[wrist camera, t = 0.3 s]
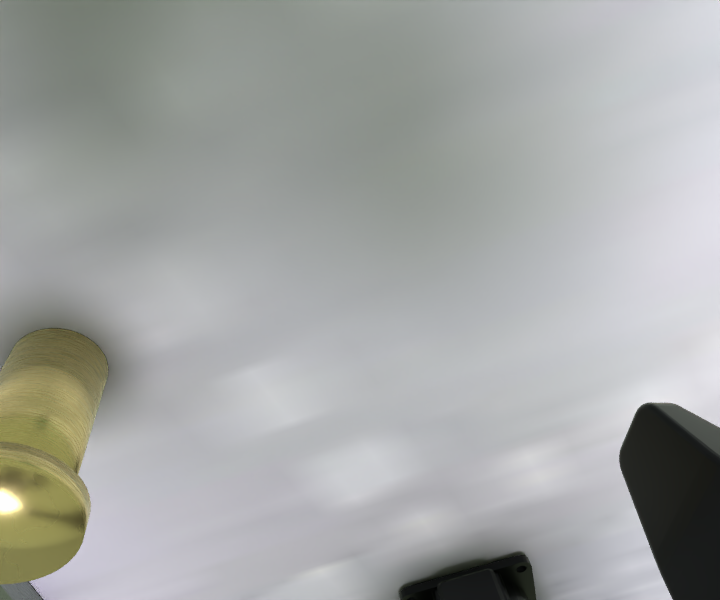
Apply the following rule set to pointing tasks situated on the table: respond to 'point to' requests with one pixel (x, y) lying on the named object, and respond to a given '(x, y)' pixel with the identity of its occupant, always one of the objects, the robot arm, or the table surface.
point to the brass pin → (45, 449)
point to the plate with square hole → (18, 592)
